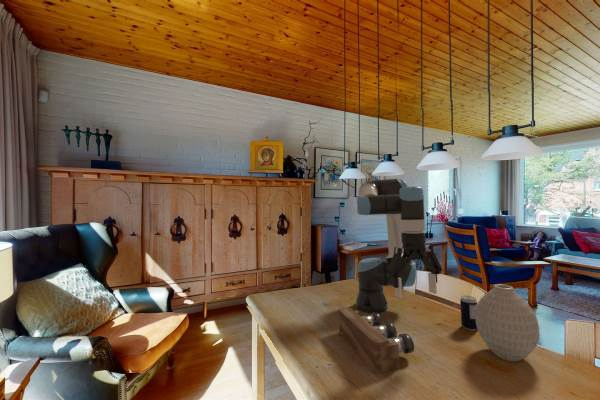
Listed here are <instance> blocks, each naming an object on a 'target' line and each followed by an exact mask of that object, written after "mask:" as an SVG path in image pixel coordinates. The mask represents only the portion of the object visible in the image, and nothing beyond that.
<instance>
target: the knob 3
mask: <svg viewBox="0 0 600 400" xmlns="http://www.w3.org/2000/svg"><path fill="white" fill-rule="evenodd" d="M388 340H389V342H394V341H395V342H396V343H397V344H398V349H399V354H400V353H404V354H406V355H407V354H411V353H413V352H414V351H415V345H414V340H413V338H412V337H411V335H410V334H408V333H400V334H398V335H397V337H394V338H389V339H388Z"/></svg>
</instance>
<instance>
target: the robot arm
mask: <svg viewBox="0 0 600 400" xmlns="http://www.w3.org/2000/svg"><path fill="white" fill-rule="evenodd" d="M356 197H357V198H356V206H357V207H356V208H357V209H356V210H357V211H356V212H357V215H359V216H361V215H362V216H376V215H377V216H378V215H379V216H381V215H386V217H385V218H386V230H387V231H386V232H387V244H388V255H387V256H386V257H385V260H384V261H383V259H382V258H380V257H368V258H364V259H362V260H359V261H358V264H357V274H358V278H357V279H358V292H357V295H356V299H355V307H356V309H358V310H359V309H360V311H361V312H365V311H366V312H365V313H371V312H374V313H376V312H378V313H383V312H385V311H387V310H388V309H389V308H388V307H389V305H388V302H387V298H386V295H385V293H384V287H393V288H394V296H395V297H396V298H398V299H400V300H401V299H403V288H404V287H405V288H406V287H409V288H411V287H413V286H414V285H415V282H416V280H417V279H416V277H417V266H416V265H417V264H416V262H415V261H416V260H419V261H421V262H422V264H424V266H425V268H427V269H428V271H429V272H427V277H428V292H429V293H432V294H434V295H437V293H438V291H437V289H438V288H437V283H438V275H440V273H441V272H442V271H443V267H442V266H441V264H440V262H439V259H438V257H437V255H436V253H435V251H434V250H435V249H434V246H433V245H432V244H426V242H427V241H426V240H427V239H426V233H425V232H426V220H425V204H424V203H425V200H424V198H425V195H424V189H423V188H422V187H421V186H408V184H407V181H406V180H405V179H403V178H387V179H373V180H370V181H367V182H364V183H363V184H362V185H361V186H360V187H359V188H358V196H356ZM425 253H426V254H425Z"/></svg>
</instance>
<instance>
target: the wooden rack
mask: <svg viewBox="0 0 600 400" xmlns="http://www.w3.org/2000/svg"><path fill="white" fill-rule="evenodd" d="M338 327H339V328H338V329H339V333H340V332H341V333H342V334H341V333H340V334H341V335H342V337H343V336H344V337H345V338H346V339H345V338H344V339H345V340H346V341H347V342H348V343H350V344H351V345H352V346H351V345H350V344H349V345H350V346H351V347H352V348H353V349H354V351H355V352H356V351H357V352H358V353H357V352H356V353H357V354H358V355H359V357H361V358H363V359H364V360H363V361H364V362H365V363H366V364H367V366H368V367H369V366H370V367H369V368H370V369H371V370H372V372H373V373H374V374H375V373H376V374H375V375H377V374H378V373H379V374H383V373H387V372H392V371H397V370H399V369H400V355H399V354H400V353H399V349H398V344H397V343H396V342H395V341H394V342H389V340H388V339H387V338H386V337H385V333H384V332H383V331H381V330H380V329H375V328H374V327H373V326H371V322H370V321H369V320H368V319H367V318H362V317H361V315H360V312H359V311H358V310H353V309H352V308H351V307H344V308H339V309H338Z"/></svg>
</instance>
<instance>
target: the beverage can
mask: <svg viewBox="0 0 600 400" xmlns="http://www.w3.org/2000/svg"><path fill="white" fill-rule="evenodd" d="M459 301H460V318H461V319H460V321H461V326H462V327H463V328H464V329H465V330H468V331H472V332H473V331H476V330H478V329H477V326H476V321H475V312H476V307H477V304H478V301H477V298H476V297H474V296H472V295H471V296H470V295H461V296H460V299H459Z"/></svg>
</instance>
